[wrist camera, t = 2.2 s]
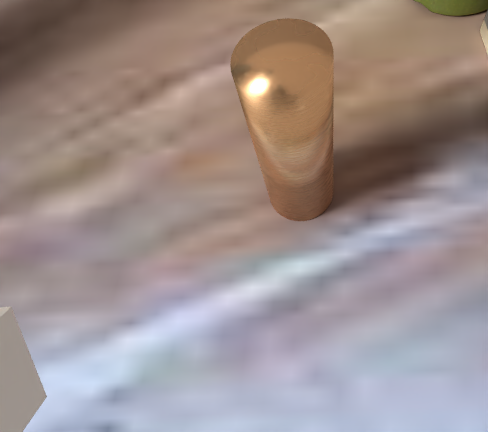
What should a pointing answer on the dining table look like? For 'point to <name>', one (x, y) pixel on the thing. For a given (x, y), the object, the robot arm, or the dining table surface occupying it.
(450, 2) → the plant pot
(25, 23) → the dining table surface
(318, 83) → the copper pin
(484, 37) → the notch board
